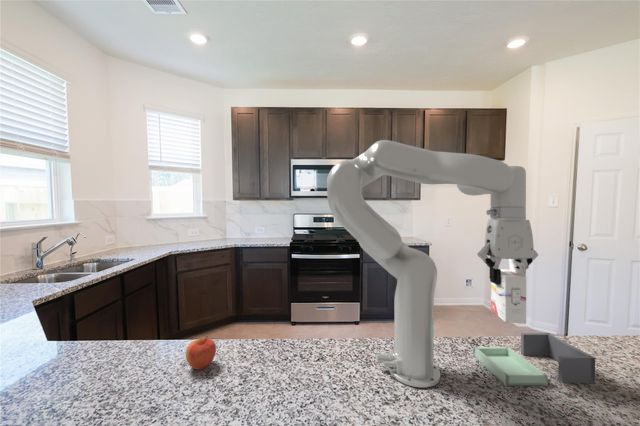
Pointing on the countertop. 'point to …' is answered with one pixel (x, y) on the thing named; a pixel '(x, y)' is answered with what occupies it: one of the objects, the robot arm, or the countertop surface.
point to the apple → (200, 353)
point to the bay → (561, 357)
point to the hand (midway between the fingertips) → (507, 282)
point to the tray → (510, 366)
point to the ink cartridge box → (510, 294)
